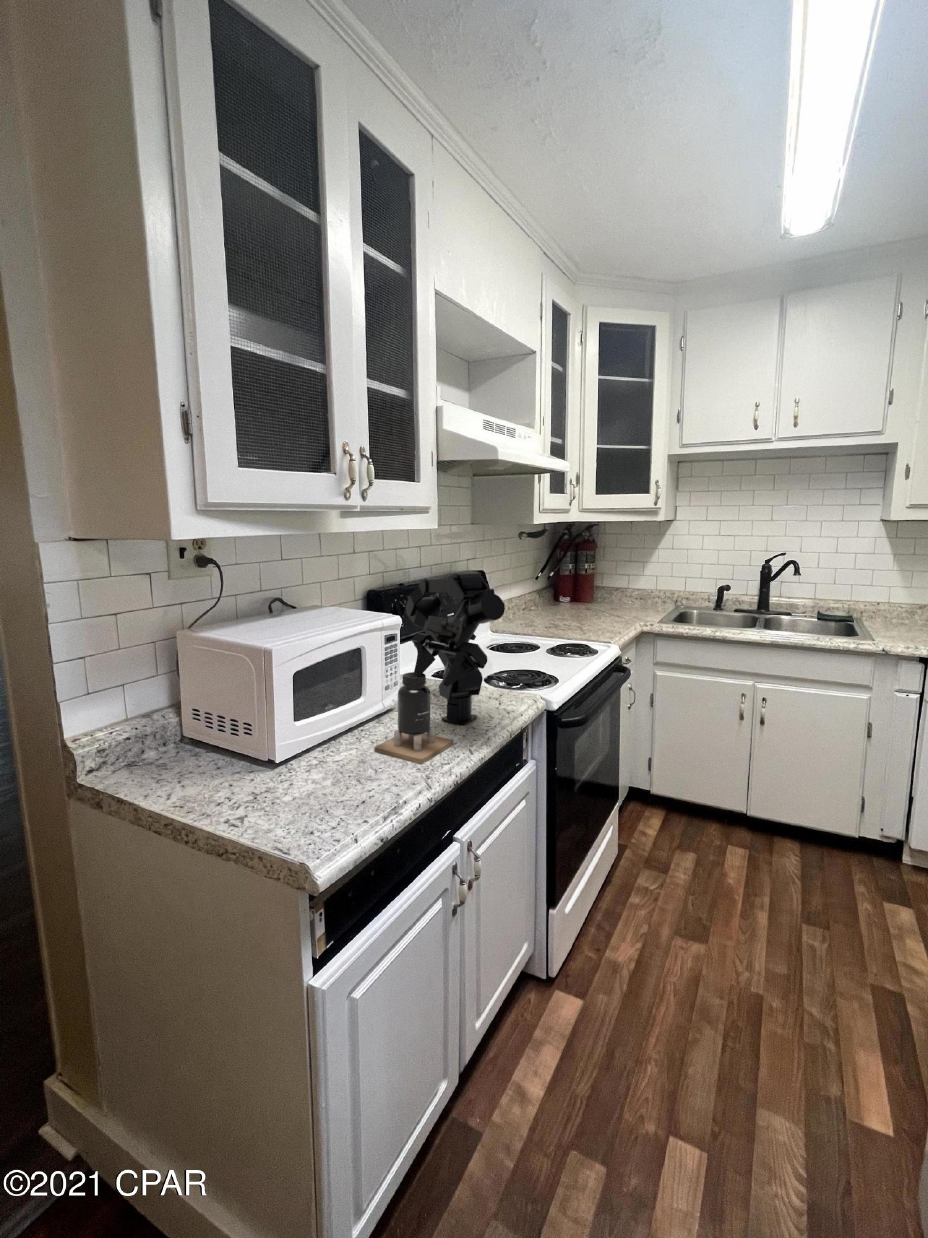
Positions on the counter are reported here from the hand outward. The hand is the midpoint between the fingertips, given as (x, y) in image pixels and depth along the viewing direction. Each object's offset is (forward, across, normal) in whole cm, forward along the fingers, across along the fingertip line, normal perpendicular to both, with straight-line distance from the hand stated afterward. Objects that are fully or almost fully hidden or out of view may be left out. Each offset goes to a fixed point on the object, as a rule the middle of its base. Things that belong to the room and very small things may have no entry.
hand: (429, 681), depth 126 cm
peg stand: (+13, 0, +6) cm, 14 cm away
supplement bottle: (+10, 0, +4) cm, 11 cm away
